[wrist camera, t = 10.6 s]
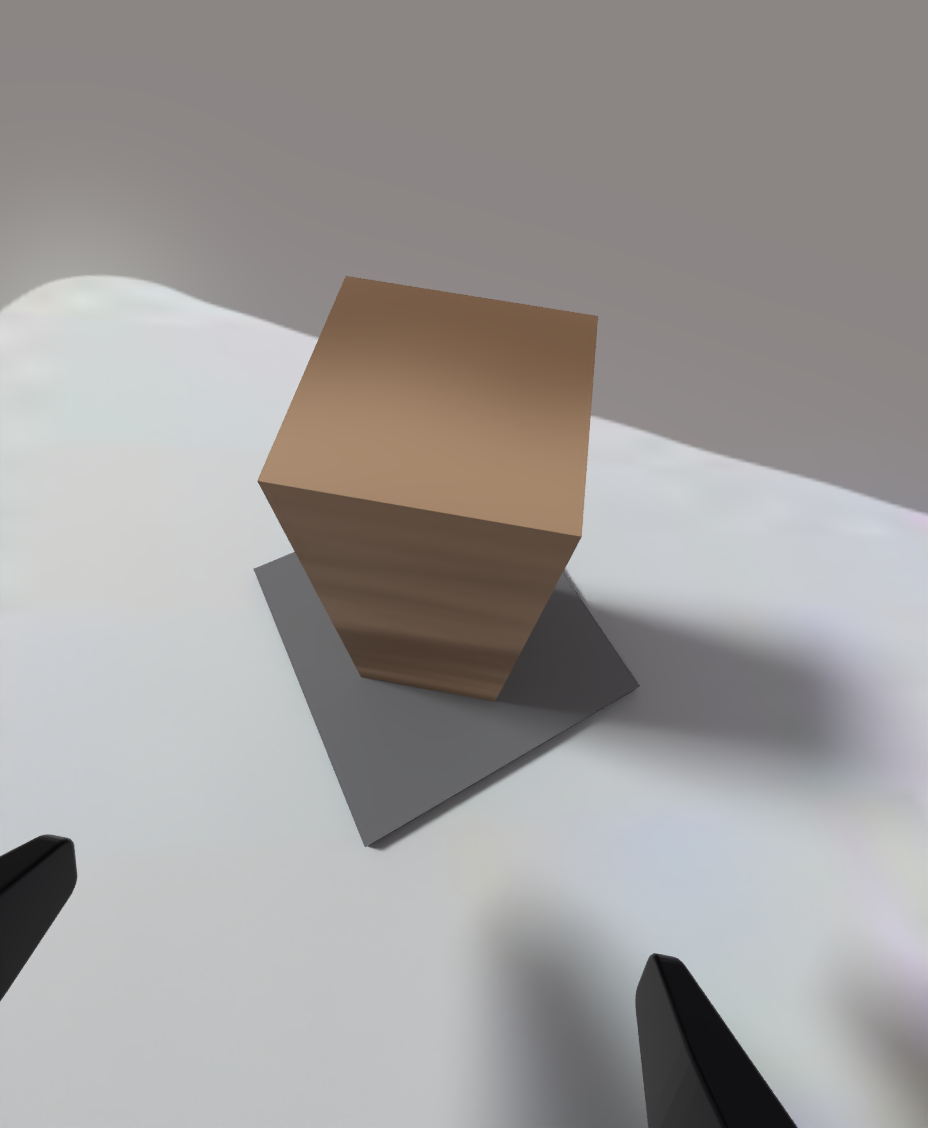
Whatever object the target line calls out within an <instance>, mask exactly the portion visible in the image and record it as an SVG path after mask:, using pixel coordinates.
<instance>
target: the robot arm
mask: <svg viewBox="0 0 928 1128" xmlns="http://www.w3.org/2000/svg"><path fill="white" fill-rule="evenodd" d="M76 881H77V868H76V858H75V849H74V843H73V841H72V840H71V839H69V838H65V837H60V836H55V835H42V836H39V837H37V838H35V839H33V840H31V841H29V842H27V843H25V844H23V845H21V846H19V847H17V848H15V849H13V850H11V851H9V852H8V853H6V854H4V855H2V856H0V1001H1V1000H2V998H3V997H4V995H5V994H6V992H7V991H8V989H9V988H10V986H11V985H12V983H13V982H14V980H15V979H16V977H17V976H18V974H19V973H20V971H21V970H22V968H23V967H24V965H25V964H26V962H27V961H28V959H29V958H30V956H31V955H32V953H33V952H34V950H35V949H36V947H37V946H38V944H39V943H40V941H41V940H42V938H43V937H44V935H45V933H46V932H47V930H48V929H49V927H50V926H51V924H52V923H53V921H54V920H55V918H56V917H57V915H58V914H59V912H60V911H61V909H62V908H63V906H64V905H65V903H66V902H67V900H68V899H69V897H70V896H71V894H72V892H73V890H74V888H75V885H76ZM635 1001H636V1016H637V1025H638V1034H639V1044H640V1053H641V1062H642V1072H643V1081H644V1091H645V1100H646V1109H647V1119H648V1127H649V1128H798V1127H797V1126H796V1125H795V1123H794V1122H793V1120H792V1119H791V1117H790V1116H789V1114H788V1113H787V1112H786V1110H785V1109H784V1107H783V1106H782V1104H781V1103H780V1101H779V1100H778V1099H777V1097H776V1096H775V1094H774V1093H773V1091H772V1090H771V1089H770V1087H769V1086H768V1084H767V1083H766V1081H765V1080H764V1078H763V1077H762V1076H761V1074H760V1073H759V1071H758V1070H757V1068H756V1067H755V1065H754V1064H753V1063H752V1061H751V1060H750V1058H749V1057H748V1055H747V1054H746V1053H745V1051H744V1050H743V1048H742V1047H741V1045H740V1044H739V1042H738V1041H737V1040H736V1038H735V1037H734V1035H733V1034H732V1032H731V1031H730V1029H729V1028H728V1027H727V1025H726V1024H725V1022H724V1021H723V1019H722V1018H721V1017H720V1015H719V1014H718V1012H717V1011H716V1009H715V1008H714V1006H713V1005H712V1004H711V1002H710V1001H709V999H708V998H707V996H706V995H705V993H704V992H703V991H702V989H701V988H700V986H699V985H698V983H697V982H696V981H695V979H694V978H693V976H692V975H691V973H690V972H689V970H688V969H687V968H686V966H685V965H684V964H683V962H682V961H680V960H679V959H678V958H676V957H672V956H667V955H662V954H657V953H653V954H652V955H650V957H649V958H648V961H647V963H646V966H645V968H644V971H643V974H642V976H641V979H640V981H639V984H638V987H637V990H636V999H635Z"/></svg>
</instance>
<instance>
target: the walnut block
mask: <svg viewBox="0 0 928 1128" xmlns="http://www.w3.org/2000/svg"><path fill="white" fill-rule="evenodd" d="M597 321H598V316H594V315H587V314H581V313H575V312H569V311H562V310H556V309H550V308H543V307H537V306H530V305H525V304H518V303H511V302H506V301H499V300H493V299H487V298H481V297H474V296H467V295H462V294H456V293H449V292H443V291H437V290H430V289H423V288H417V287H412V286H405V285H399V284H393V283H386V282H380V281H374V280H367V279H361V278H355V277H348V276H346V277H345V279H344V281H343V284H342V286H341V288H340V291H339V293H338V296H337V298H336V301H335V302H334V305H333V307H332V309H331V312H330V314H329V316H328V319H327V321H326V323H325V326H324V328H323V330H322V332H321V335H320V337H319V339H318V342H317V344H316V346H315V349H314V351H313V353H312V356H311V358H310V360H309V363H308V365H307V367H306V370H305V372H304V374H303V376H302V379H301V381H300V383H299V386H298V388H297V390H296V393H295V395H294V397H293V400H292V402H291V404H290V407H289V409H288V411H287V414H286V416H285V418H284V420H283V423H282V425H281V427H280V430H279V432H278V434H277V437H276V439H275V441H274V444H273V446H272V448H271V451H270V453H269V455H268V458H267V460H266V462H265V464H264V467H263V469H262V471H261V474H260V476H259V478H258V483H259V485H260V487H261V489H262V490H263V492H264V494H265V496H266V498H267V500H268V502H269V504H270V506H271V508H272V509H273V511H274V513H275V515H276V517H277V519H278V521H279V523H280V525H281V526H282V528H283V530H284V532H285V534H286V536H287V538H288V540H289V542H290V543H291V545H292V547H293V549H294V551H295V553H296V555H297V557H298V559H299V561H300V562H301V564H302V566H303V568H304V570H305V572H306V574H307V576H308V578H309V579H310V581H311V583H312V585H313V587H314V589H315V591H316V593H317V595H318V597H319V598H320V600H321V602H322V604H323V606H324V608H325V610H326V612H327V614H328V615H329V617H330V619H331V621H332V623H333V625H334V627H335V629H336V631H337V632H338V634H339V636H340V638H341V640H342V642H343V644H344V646H345V648H346V650H347V651H348V653H349V655H350V657H351V659H352V661H353V663H354V665H355V667H356V668H357V670H358V672H359V674H360V676H361V677H363V678H369V679H374V680H380V681H385V682H391V683H396V684H402V685H407V686H413V687H418V688H424V689H429V690H435V691H440V692H446V693H451V694H457V695H462V696H468V697H473V698H479V699H484V700H490V701H496V699H497V697H498V695H499V693H500V691H501V689H502V687H503V686H504V684H505V682H506V680H507V678H508V676H509V674H510V672H511V670H512V668H513V666H514V665H515V663H516V661H517V659H518V657H519V655H520V653H521V651H522V649H523V647H524V645H525V644H526V642H527V640H528V638H529V636H530V634H531V632H532V630H533V628H534V626H535V624H536V623H537V621H538V619H539V617H540V615H541V613H542V611H543V609H544V607H545V605H546V603H547V602H548V600H549V598H550V596H551V594H552V592H553V590H554V588H555V586H556V584H557V582H558V581H559V579H560V577H561V575H562V573H563V571H564V569H565V567H566V565H567V563H568V561H569V560H570V558H571V556H572V554H573V552H574V550H575V548H576V546H577V544H578V542H579V540H580V539H581V537H582V524H583V510H584V497H585V483H586V470H587V456H588V443H589V430H590V416H591V403H592V388H593V375H594V362H595V349H596V335H597Z"/></svg>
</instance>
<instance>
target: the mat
mask: <svg viewBox="0 0 928 1128" xmlns="http://www.w3.org/2000/svg"><path fill="white" fill-rule="evenodd" d="M254 571H255V573H256V576H257V578H258V581H259V583H260V586H261V588H262V591H263V593H264V596H265V598H266V601H267V603H268V606H269V608H270V611H271V613H272V616H273V618H274V621H275V623H276V626H277V628H278V631H279V633H280V636H281V638H282V641H283V643H284V646H285V649H286V651H287V654H288V656H289V659H290V661H291V664H292V666H293V669H294V671H295V674H296V676H297V679H298V681H299V684H300V686H301V689H302V691H303V694H304V696H305V699H306V701H307V704H308V706H309V709H310V711H311V714H312V716H313V719H314V721H315V724H316V726H317V729H318V731H319V734H320V736H321V739H322V741H323V744H324V746H325V749H326V751H327V754H328V756H329V759H330V761H331V764H332V766H333V769H334V771H335V774H336V776H337V779H338V781H339V784H340V786H341V789H342V791H343V794H344V796H345V799H346V801H347V804H348V806H349V809H350V811H351V814H352V816H353V819H354V821H355V824H356V826H357V829H358V831H359V834H360V836H361V839H362V841H363V844H364V846H365V847H367V846H369V845H370V844H372V843H374V842H375V841H377V840H379V839H380V838H382V837H384V836H386V835H387V834H389V833H391V832H392V831H394V830H396V829H397V828H399V827H401V826H403V825H404V824H406V823H408V822H409V821H411V820H413V819H414V818H416V817H418V816H420V815H421V814H423V813H425V812H426V811H428V810H430V809H432V808H433V807H435V806H437V805H438V804H440V803H442V802H443V801H445V800H447V799H449V798H450V797H452V796H454V795H455V794H457V793H459V792H460V791H462V790H464V789H466V788H467V787H469V786H471V785H472V784H474V783H476V782H477V781H479V780H481V779H483V778H484V777H486V776H488V775H489V774H491V773H493V772H495V771H496V770H498V769H500V768H501V767H503V766H505V765H506V764H508V763H510V762H512V761H513V760H515V759H517V758H518V757H520V756H522V755H523V754H525V753H527V752H529V751H530V750H532V749H534V748H535V747H537V746H539V745H540V744H542V743H544V742H546V741H547V740H549V739H551V738H552V737H554V736H556V735H558V734H559V733H561V732H563V731H564V730H566V729H568V728H569V727H571V726H573V725H575V724H576V723H578V722H580V721H581V720H583V719H585V718H586V717H588V716H590V715H592V714H593V713H595V712H597V711H598V710H600V709H602V708H603V707H605V706H607V705H609V704H610V703H612V702H614V701H615V700H617V699H619V698H621V697H622V696H624V695H626V694H627V693H629V692H631V691H632V690H634V689H636V688H637V687H639V684H638V683H637V681H636V680H635V678H634V677H633V675H632V674H631V673H630V671H629V670H628V668H627V667H626V665H625V664H624V662H623V661H622V659H621V658H620V656H619V655H618V653H617V652H616V650H615V649H614V647H613V646H612V644H611V643H610V642H609V640H608V639H607V637H606V636H605V634H604V633H603V631H602V630H601V628H600V627H599V625H598V624H597V622H596V621H595V619H594V618H593V616H592V615H591V613H590V612H589V611H588V609H587V608H586V606H585V605H584V603H583V602H582V600H581V599H580V597H579V596H578V594H577V593H576V591H575V590H574V588H573V587H572V585H571V584H570V582H569V581H568V580H567V578H566V577H565V575H564V574H563V573H562V575H561V577H560V579H559V581H558V582H557V584H556V586H555V588H554V590H553V592H552V594H551V596H550V598H549V600H548V602H547V603H546V605H545V607H544V609H543V611H542V613H541V615H540V617H539V619H538V621H537V623H536V624H535V626H534V628H533V630H532V632H531V634H530V636H529V638H528V640H527V642H526V644H525V645H524V647H523V649H522V651H521V653H520V655H519V657H518V659H517V661H516V663H515V665H514V666H513V668H512V670H511V672H510V674H509V676H508V678H507V680H506V682H505V684H504V686H503V687H502V689H501V691H500V693H499V695H498V697H497V699H496V701H490V700H484V699H479V698H473V697H468V696H462V695H457V694H451V693H446V692H440V691H435V690H429V689H424V688H418V687H413V686H407V685H402V684H396V683H391V682H385V681H380V680H374V679H369V678H363V677H361V676H360V674H359V672H358V670H357V668H356V667H355V665H354V663H353V661H352V659H351V657H350V655H349V653H348V651H347V650H346V648H345V646H344V644H343V642H342V640H341V638H340V636H339V634H338V632H337V631H336V629H335V627H334V625H333V623H332V621H331V619H330V617H329V615H328V614H327V612H326V610H325V608H324V606H323V604H322V602H321V600H320V598H319V597H318V595H317V593H316V591H315V589H314V587H313V585H312V583H311V581H310V579H309V578H308V576H307V574H306V572H305V570H304V568H303V566H302V564H301V562H300V561H299V559H298V557H297V555H296V553H295V552H293V553H291V554H289V555H286V556H284V557H281V558H279V559H277V560H274V561H272V562H269V563H267V564H265V565H262V566H260V567H257V568H255V569H254Z"/></svg>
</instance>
